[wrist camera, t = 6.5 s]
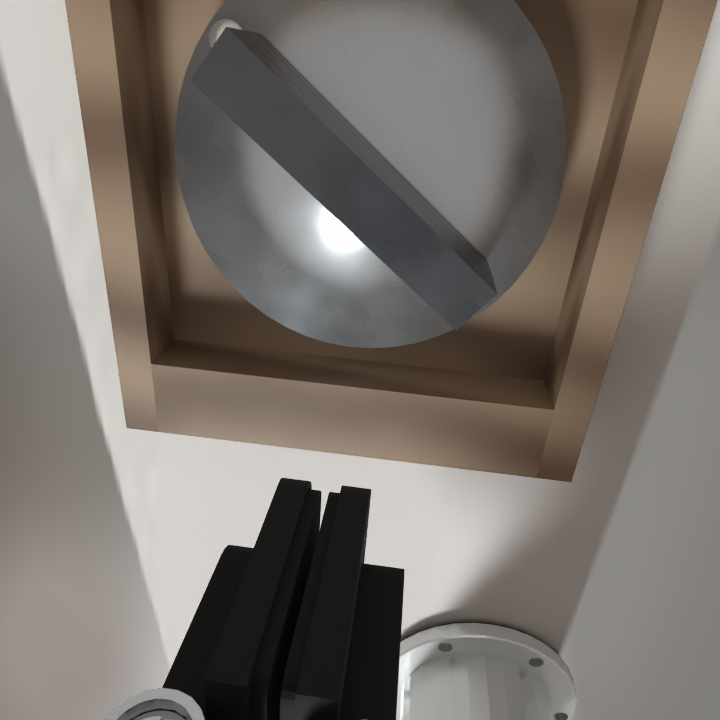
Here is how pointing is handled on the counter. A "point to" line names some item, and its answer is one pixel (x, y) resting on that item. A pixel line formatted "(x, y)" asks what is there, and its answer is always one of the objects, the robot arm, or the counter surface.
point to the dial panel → (407, 362)
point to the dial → (371, 160)
